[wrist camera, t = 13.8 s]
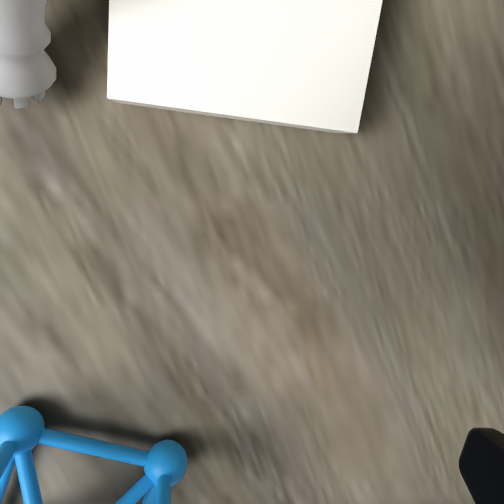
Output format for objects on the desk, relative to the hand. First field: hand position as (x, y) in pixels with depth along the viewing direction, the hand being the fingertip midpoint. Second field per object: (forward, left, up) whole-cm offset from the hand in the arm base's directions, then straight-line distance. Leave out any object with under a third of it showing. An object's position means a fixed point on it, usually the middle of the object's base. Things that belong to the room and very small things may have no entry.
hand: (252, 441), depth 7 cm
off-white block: (0, -11, -14) cm, 17 cm away
